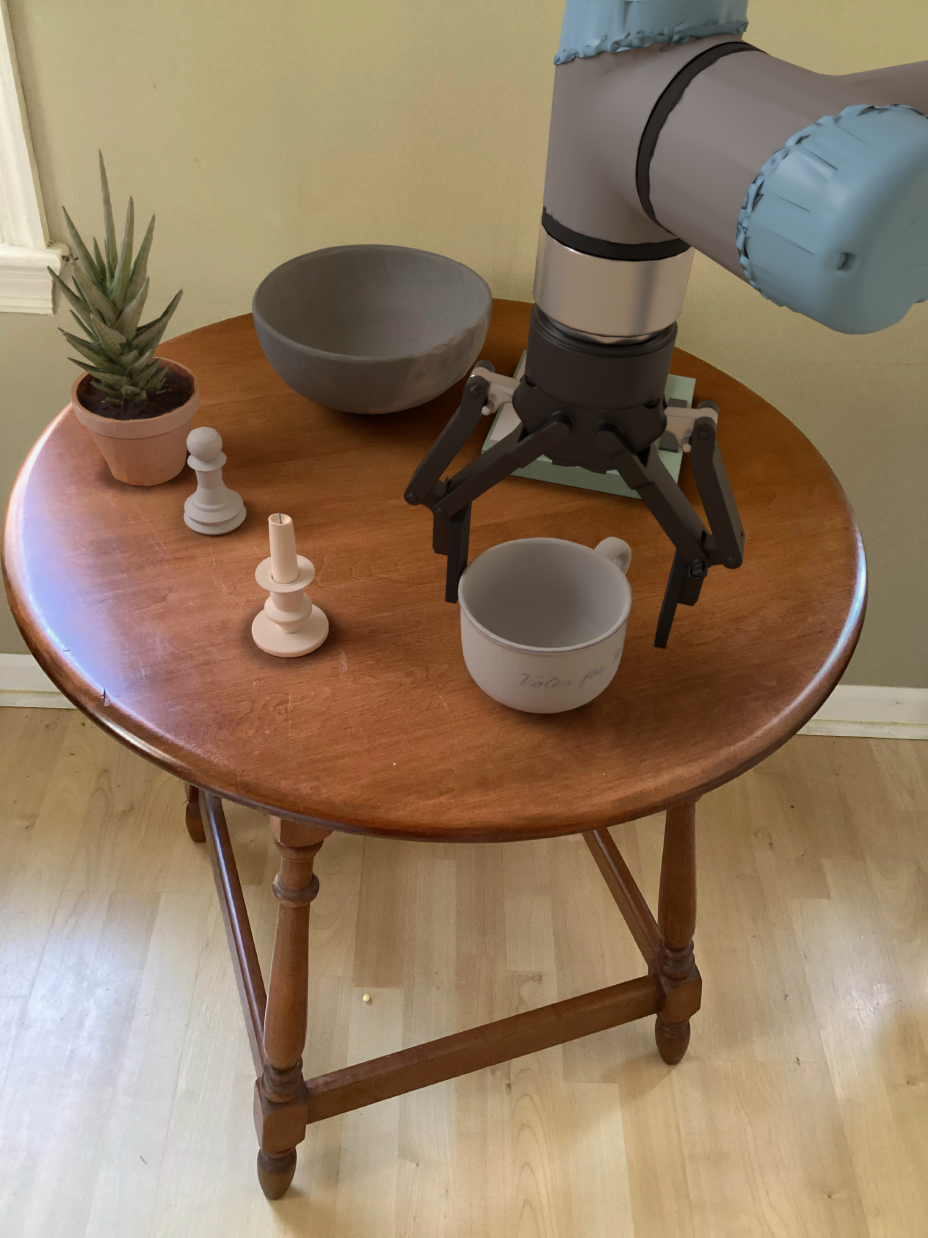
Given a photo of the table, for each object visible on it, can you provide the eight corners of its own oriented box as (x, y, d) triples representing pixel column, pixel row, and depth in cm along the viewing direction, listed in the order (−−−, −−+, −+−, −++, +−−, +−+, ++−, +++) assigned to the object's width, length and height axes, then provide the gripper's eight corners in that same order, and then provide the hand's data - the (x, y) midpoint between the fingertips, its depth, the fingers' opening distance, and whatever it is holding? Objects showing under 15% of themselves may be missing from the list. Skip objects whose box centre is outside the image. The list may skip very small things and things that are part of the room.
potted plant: (220, 486, 83) (176, 172, 66) (98, 509, 81) (18, 188, 63) (195, 420, 90) (149, 119, 73) (81, 439, 87) (5, 131, 70)
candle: (286, 595, 75) (274, 476, 67) (344, 625, 73) (338, 506, 65) (236, 636, 71) (218, 516, 64) (295, 669, 69) (284, 549, 62)
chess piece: (255, 527, 80) (244, 439, 74) (194, 543, 78) (179, 454, 73) (235, 493, 83) (224, 406, 77) (176, 507, 81) (161, 420, 76)
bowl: (371, 315, 105) (369, 217, 98) (530, 393, 96) (541, 290, 89) (213, 391, 93) (198, 285, 86) (377, 487, 84) (375, 378, 77)
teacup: (521, 763, 65) (533, 675, 59) (422, 658, 71) (424, 569, 65) (681, 672, 71) (706, 584, 65) (577, 583, 77) (592, 496, 71)
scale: (691, 397, 96) (697, 370, 94) (672, 505, 84) (678, 476, 82) (522, 368, 99) (525, 341, 97) (480, 469, 87) (482, 440, 85)
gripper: (856, 315, 54) (754, 612, 68) (391, 238, 57) (390, 537, 72) (859, 391, 48) (747, 695, 63) (346, 301, 52) (355, 609, 67)
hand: (557, 611), depth 68 cm, fingers open, 13 cm apart
